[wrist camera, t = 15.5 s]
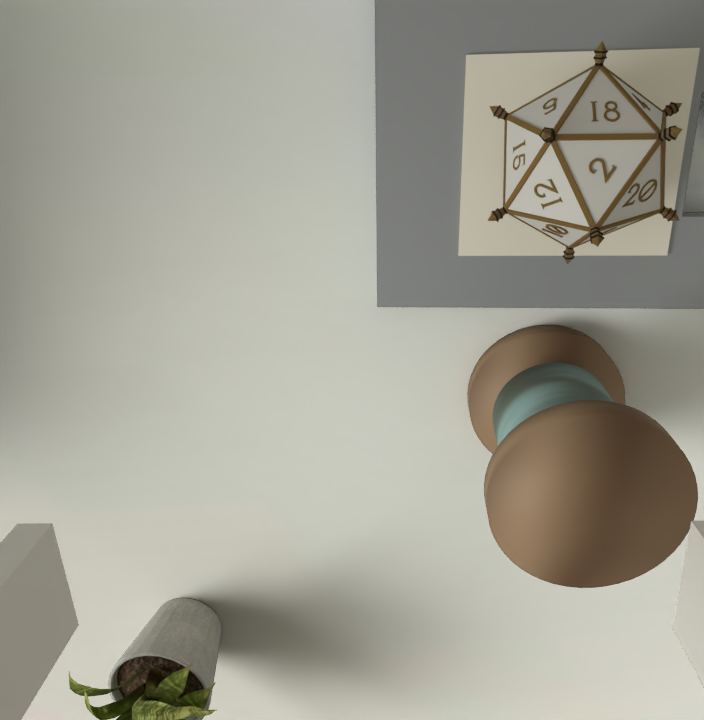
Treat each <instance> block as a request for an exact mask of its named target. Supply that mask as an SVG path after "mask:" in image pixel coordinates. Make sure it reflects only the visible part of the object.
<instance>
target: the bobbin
mask: <svg viewBox="0 0 704 720" xmlns="http://www.w3.org/2000/svg"><path fill="white" fill-rule="evenodd" d="M468 406H469V411H470V417H471V422H472V425H473V428H474V430H475V432H476V434H477V436H478V438H479V439H480V441H481V442H482V444H483V445H484V446H485V447H486V448H487V449H488V450H489V451H490V452H491V453H492V454H493V455H492V457H491V460H490V462H489V464H488V468H487V471H486V475H485V482H484V496H485V502H486V508H487V514H488V519H489V525H490V528H491V531H492V534H493V536H494V538H495V540H496V542H497V544H498V545H499V547H500V548H501V550H502V551H503V552H504V554H505V555H506V556H507V557H508V558H509V559H510V560H511V561H512V562H513V563H514V564H516V565H517V566H518V567H520V568H521V569H522V570H524V571H526V572H527V573H529V574H531V575H532V576H535V577H537V578H539V579H541V580H544V581H547V582H550V583H553V584H557V585H562V586H567V587H578V588H594V587H603V586H609V585H614V584H618V583H622V582H625V581H628V580H631V579H633V578H636V577H638V576H640V575H642V574H644V573H646V572H648V571H649V570H651V569H653V568H655V567H656V566H657V565H659V564H660V563H661V562H663V561H664V560H665V559H666V558H668V557H669V556H670V555H671V554H672V553H673V552H674V551H675V550H676V548H677V547H678V546H679V545H680V544H681V542H682V541H683V539H684V538H685V536H686V535H687V533H688V531H689V529H690V525H691V521H693V520H694V517H695V513H696V509H697V501H698V490H697V483H696V478H695V474H694V472H693V469H692V466H691V464H690V462H689V461H688V459H687V457H686V456H685V454H684V453H683V451H682V450H681V449H680V448H679V446H678V445H677V444H676V442H675V441H674V440H673V439H672V437H671V436H670V435H669V434H668V432H667V431H666V430H665V429H664V428H663V427H662V426H661V425H660V424H659V423H658V422H656V421H655V420H654V419H652V418H651V417H649V416H648V415H646V414H645V413H643V412H641V411H639V410H637V409H635V408H632V407H629V406H626V405H625V391H624V385H623V381H622V378H621V375H620V373H619V370H618V369H617V367H616V365H615V364H614V362H613V361H612V360H611V358H610V357H609V356H608V355H607V353H606V352H605V351H604V350H603V348H602V347H601V346H600V345H599V344H598V343H596V342H595V341H594V340H593V339H591V338H590V337H588V336H587V335H585V334H583V333H581V332H579V331H577V330H574V329H571V328H568V327H563V326H556V325H538V326H532V327H527V328H523V329H520V330H517V331H515V332H512V333H510V334H508V335H506V336H505V337H503V338H501V339H500V340H498V341H497V342H496V343H494V344H493V345H492V346H491V347H490V348H489V349H488V350H487V351H486V352H485V353H484V354H483V355H482V357H481V358H480V359H479V361H478V362H477V364H476V366H475V367H474V370H473V372H472V374H471V377H470V381H469V385H468Z"/></svg>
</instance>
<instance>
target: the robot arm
mask: <svg viewBox="0 0 704 720" xmlns="http://www.w3.org/2000/svg"><path fill="white" fill-rule="evenodd" d="M78 625H79V624H78V620H77V617H76V613H75V609H74V605H73V601H72V597H71V594H70V590H69V586H68V582H67V578H66V574H65V570H64V567H63V563H62V559H61V555H60V551H59V547H58V544H57V540H56V536H55V532H54V528H53V524H17V525H16V526H15V527H14V528H13V530H12V531H11V532H10V533H9V534H8V535H7V536H6V537H5V539H4V540H3V541H2V542H1V543H0V720H21V719H22V717H23V716H24V714H25V712H26V711H27V709H28V707H29V706H30V704H31V702H32V701H33V699H34V697H35V696H36V694H37V692H38V691H39V689H40V688H41V686H42V684H43V683H44V681H45V679H46V678H47V676H48V674H49V673H50V671H51V669H52V668H53V666H54V664H55V663H56V661H57V659H58V658H59V656H60V655H61V653H62V651H63V650H64V648H65V646H66V645H67V643H68V641H69V640H70V638H71V636H72V635H73V633H74V631H75V630H76V628H77V626H78ZM673 631H674V633H675V635H676V636H677V638H678V640H679V642H680V644H681V646H682V648H683V650H684V652H685V653H686V655H687V657H688V659H689V661H690V663H691V665H692V667H693V668H694V670H695V672H696V674H697V676H698V678H699V680H700V682H701V683H702V685H703V687H704V521H691V525H690V531H689V537H688V543H687V548H686V554H685V560H684V566H683V572H682V577H681V583H680V589H679V595H678V601H677V607H676V612H675V618H674V624H673Z"/></svg>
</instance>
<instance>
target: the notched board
mask: <svg viewBox="0 0 704 720" xmlns="http://www.w3.org/2000/svg"><path fill="white" fill-rule="evenodd" d="M602 41H603V43H604V45H605V47H606V50H607V51H608V52H607V54H606V57H607V59H605V60H604V63H603V65H604V66H605V67H606V68H607V69H609V70H610V71H611V72H613V73H614V74H615V75H617V76H618V77H619V78H621V79H622V80H623V81H625V82H626V83H627V84H629V85H630V86H631V87H633V88H634V89H635V90H636V91H638V92H639V93H640V94H642V95H643V96H644V97H646V98H647V99H648V100H650V101H651V102H652V103H654V104H655V105H656V106H658V107H659V108H660V109H662V110H664V109H665V107H666V105H669V104H670V102H673V103H682V104H681V106H680V108H679V111H678V112H677V113H676V114H673V115H672V116H667V117H666V128H669V127H670V126H675V125H676V127H678V128H681V129H683V130H682V131H681V132H680V133H679V135H678V136H677V138H676V140H673V139H672V140H671V141H667V140H666V154H665V198H664V206H665V207H666V208H672V210H674V211H675V210H677V211H676V213H677V215H678V218H679V220H680V221H669V222H668V221H667V219H666V218H663V216H662V215H661V214H659V213H658V214H656V215H653V216H651V217H648V218H646V219H644V220H641V221H639V222H636V223H634V224H631V225H629V226H626V227H624V228H621V229H619V230H616V231H614V232H611V233H609V234H606V235H604V236H603V237H604V239H603V240H602V242H601V243H600V244H599V246H598V247H597V246H596V245H594V244H591V241H589V242H587V243H584V244H582V245H579V246H577V247H574V248H573V250H574V251H575V253H574V259H572V260H571V261H570V262H569V263H568V264H567V263H566V261H565V259H564V258H563V257H562V256H563V255H564V252H563V251H565V249H566V246H564V245H562V244H560V243H559V242H557V241H555V240H553V239H552V238H550V237H548V236H546V235H544V234H543V233H541V232H539V231H537V230H536V229H534V228H532V227H530V226H528V225H527V224H525V223H523V222H521V221H520V220H518V219H516V218H514V217H512V216H511V215H509V214H505V215H504V216H503V219H499V220H498V221H499V222H497V221H487V220H488V219H489V217H490V215H491V214H492V213H491V212H492V211H495V210H496V209H497V208H498V209H500V208H502V207H503V178H504V125H505V121H504V120H503V119H500V118H499V119H498V118H497V117H496V116H495V117H493V113H492V111H491V109H490V106H499V105H501V107H502V108H503V109H504V108H505V110H506V112H507V113H511V112H512V111H514V110H516V109H518V108H519V107H521V106H523V105H525V104H526V103H528V102H530V101H532V100H533V99H535V98H537V97H539V96H541V95H542V94H544V93H546V92H548V91H549V90H551V89H553V88H555V87H556V86H558V85H560V84H562V83H564V82H565V81H567V80H569V79H571V78H572V77H574V76H576V75H578V74H579V73H581V72H583V71H585V70H586V69H588V68H590V67H592V66H594V65H595V59H593V58H594V56H595V53H594V51H595V50H596V49H597V48H598V46H599V45H600V43H601V42H602ZM375 75H376V204H377V307H485V308H664V309H704V212H683V206H684V200H685V194H686V188H687V182H688V175H689V169H690V163H691V157H692V151H693V145H694V138H695V132H696V126H697V120H698V114H699V108H700V102H701V95H702V93H704V0H375Z"/></svg>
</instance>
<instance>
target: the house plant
mask: <svg viewBox="0 0 704 720" xmlns="http://www.w3.org/2000/svg"><path fill="white" fill-rule="evenodd" d="M221 633H222V627H221V622H220V620H219V617H218V616H217V615H216V613H215V612H214V611H213V610H212V609H211V608H210V607H208V606H207V605H205V604H204V603H202V602H200V601H197V600H193V599H188V598H178V599H173V600H170V601H168V602H166V603H165V604H163V605H162V606H161V607H160V608H159V610H158V611H157V612H156V613H155V615H154V616H153V617H152V618H151V620H150V621H149V622H148V624H147V625H146V626H145V627H144V629H143V630H142V631H141V633H140V634H139V635H138V636H137V638H136V639H135V640H134V641H133V643H132V644H131V645H130V647H129V648H128V649H127V650H126V652H125V653H124V654H123V655H122V657H121V658H120V659H119V661H118V662H117V663H116V664H115V666H114V668H113V669H112V671H111V672H110V676H109V681H108V686H109V689H96V688H91V687H87V686H84V685H80V684H78V683H76V682H75V681H74V680H73V679H72V678H71V676H70V673H69V683H70V689H71V690H72V691H73V692H74V693H76V694H78V695H81V696H85V704H86V707H87V709H88V710H89V711H90V712H91V713H92V714H93V715H94V716H95V717H96V718H98V719H100V720H107V719H111V718H115V717H117V716H119V715H120V716H119V717H118V718H117V719H116V720H202V719H203V717H204V716H206V715H209V714H212V713H213V712H214V711H215V710H208V709H209V705H210V701H211V695H212V689H213V686H214V684H215V683H214V676H215V670H216V664H217V658H218V652H219V645H220V639H221ZM213 683H214V684H213ZM108 693H110V695H111V697H112V699H113V701H114V702H113V703H111V704H108V705H105V706H102V707H99V708H98V707H93V706H91V705H90V704H89V700H88V697H87V696H97V695H104V694H108Z"/></svg>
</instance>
